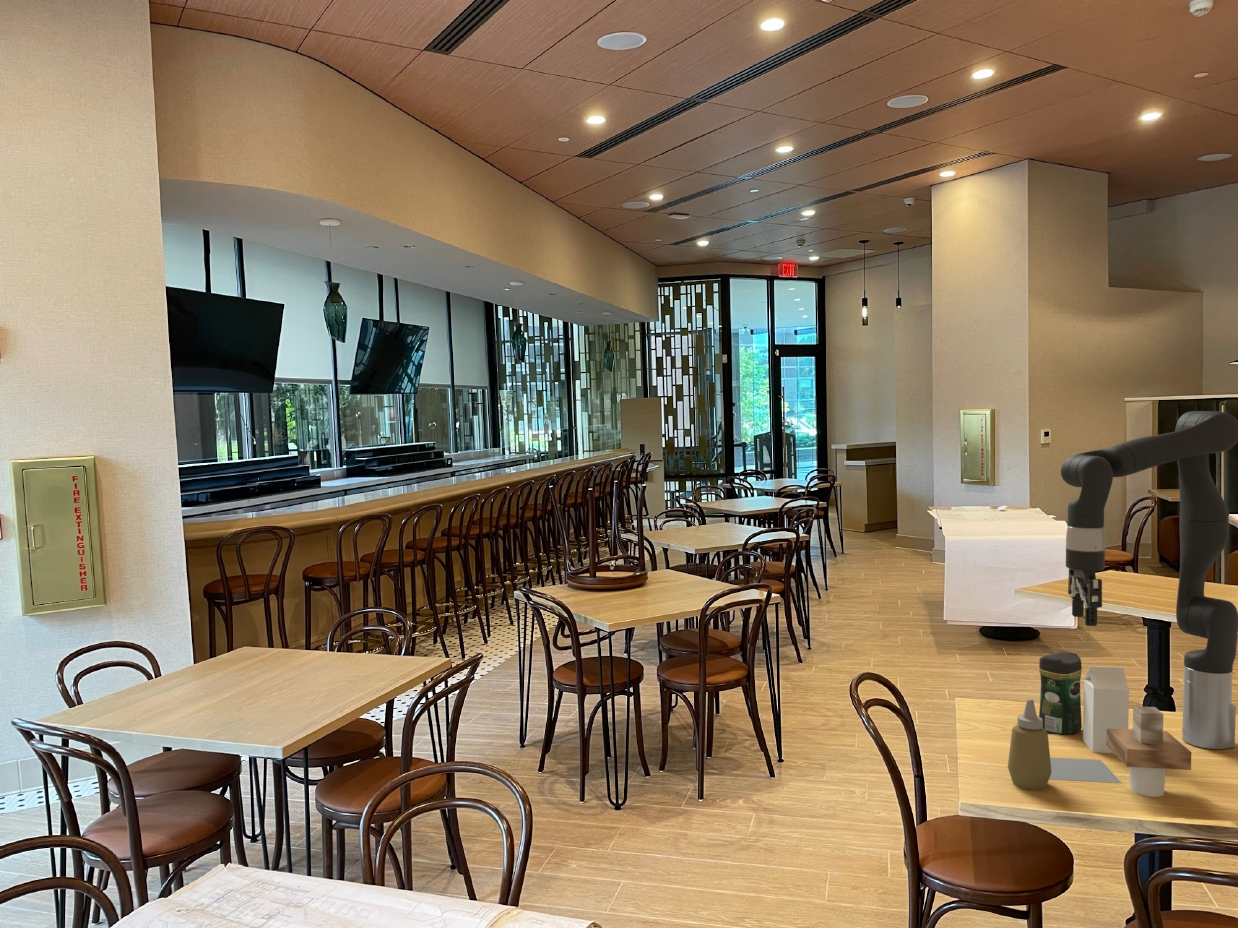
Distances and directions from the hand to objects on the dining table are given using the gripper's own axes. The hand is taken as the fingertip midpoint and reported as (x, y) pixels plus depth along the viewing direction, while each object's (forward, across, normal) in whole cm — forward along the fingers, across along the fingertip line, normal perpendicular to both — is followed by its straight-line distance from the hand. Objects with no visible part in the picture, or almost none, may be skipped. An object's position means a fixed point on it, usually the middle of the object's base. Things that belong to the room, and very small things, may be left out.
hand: (1084, 620), depth 195 cm
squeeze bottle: (+30, -19, +16) cm, 39 cm away
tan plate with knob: (+23, -19, -6) cm, 30 cm away
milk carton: (+30, +4, -6) cm, 31 cm away
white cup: (+30, -19, -6) cm, 36 cm away
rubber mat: (+30, -10, +4) cm, 32 cm away
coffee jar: (+30, +16, 0) cm, 34 cm away
